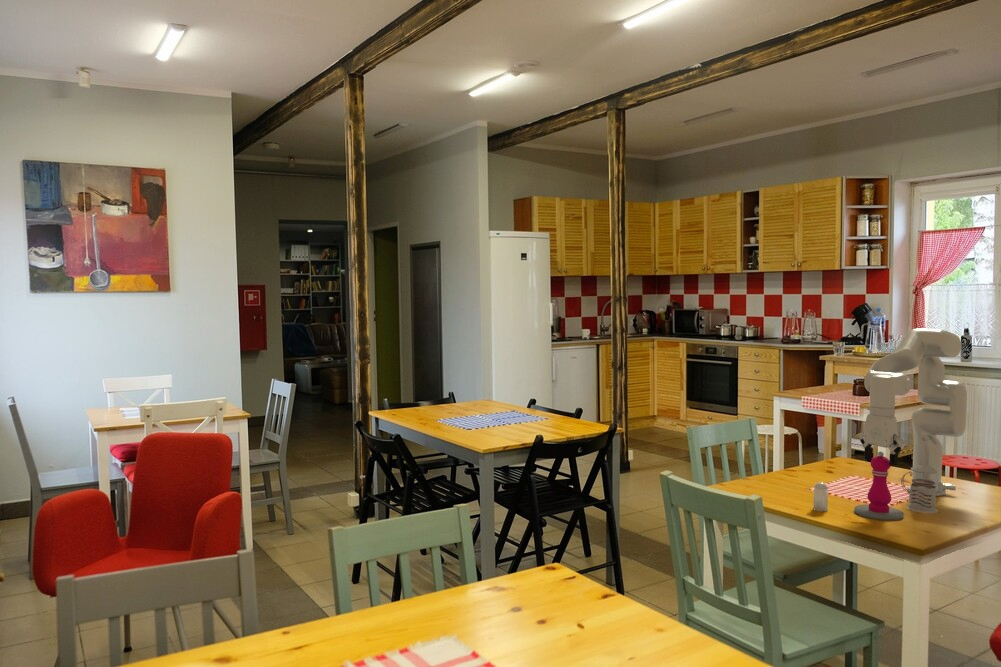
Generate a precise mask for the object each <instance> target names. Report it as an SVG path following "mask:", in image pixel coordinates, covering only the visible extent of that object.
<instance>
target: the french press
mask: <svg viewBox="0 0 1001 667" xmlns="http://www.w3.org/2000/svg"><path fill="white" fill-rule="evenodd" d="M922 441H924V457H925V441H928V439H927V438H925V437H923V438H922ZM913 471H915V472H919V473H923V479H912V478H911V482H913V483H910V485H911V486H910V485H909V486H910V491H908V490H907V487H905V484H904V479H905V477H906V475H907V474H909V476H910V477H913ZM924 473H927V474H934V473H937V471H936V470H935V469H934V468H932V467H930V466H926V465H917V466H914V467H913V466H912V467H910V471H908V472H906V473H904V474H903V475H902V477H901V487H902V489H903V490H904V491H905V492H906V493H908V495H909V498H908V499H909V500H908V503H909V504H908V505H907V506H906V509H908V510H910V511H912V512H916V513H921V514H922V513H923V514H936V513H939V510H938V508H936V501H937V500H936V497H937V496H936V487H935V486H933V485H934V484H935V482H933V481H931V480H930V481H929V480H924ZM920 486H924V487H927V488H928V489H927V488H918V487H920ZM916 491H920V492H916ZM922 494H925V495H922ZM930 495H932V496H930Z"/></svg>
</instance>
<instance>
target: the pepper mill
mask: <svg viewBox="0 0 1001 667" xmlns="http://www.w3.org/2000/svg"><path fill="white" fill-rule="evenodd" d="M884 455H885V453H884V452H883V451H878V452H877V455H875V456H873V458H872V459H870V460H871V461H870V467H871V468H872V470H871V475H872V476H873V477H872V479H873V480H872V484H871V487H870V488H869V490H868V492H867V496H866V498H867V500H868V501H869V502H870V503H868V505H869V510H870V511H873V512H878V513H887V512H889V507H890V506H889V505H888V504H890V503H891V502H892V495H891V492H890V488H889V487H888V483H887V482H888V481H887V479H888V477H889V469H891V466H890V465H889V462H890V458H887V457H886V456H884Z"/></svg>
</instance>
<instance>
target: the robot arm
mask: <svg viewBox="0 0 1001 667" xmlns="http://www.w3.org/2000/svg"><path fill="white" fill-rule="evenodd" d="M961 350H962V340H961V339H960V337H959V336H958V335H957V334H956V333H953V332H951V331H947V330H944V329H940V328H939V329H937V328H913V329H910V330H907V332H906V333H905V335H904V336H903V338H902V340H900V342H899V344H898V346H897V347H896V350H895V351H894V352H891V353H889V354H887V355H884V356H883V357H881V358H879V359H876V360H875V361H874V362H873V363H872V364H871V366H870V367H869V369H868V371H867V372H866V374H865V377H864V380H863V381H864V382H863V384H864V388H865V389H866V391H867V392H869V406H867V410H868V411H869V413H868V414H867V415H866V418H865V423H864V430H863V431H861V432H859V433H858V435H857V436H858V438H859V441H860V443H861V444H862V448H863V449H864V452H863V453H864V455H863V456H864V457H863V458H864V460H865V461H869V460H872V458H873V457H874V455H873V454H874V450H873V448H874V447H872V446H876V447H881V448H888V450H889V452H890V453H889V461H890V462H889V465H890V467H893V466H894V467H895V466H898V465H899V454H900V453H901V452H902V451H903V450H904V448H905V446H906V444H907V443H906V441H905V440H903V439H902V438H901V437H900V436H899V428H898V422H897V417H896V416H895V411H896V409H895V408H896V407H895V404H896V396H899V397H900V396H904V395H907V394H908V393H910V390H911V389H912V379H911V378H910V376H908V375H907V374H904V373H902V372H905V371H909V370H913V369H915V368H916V367H918V378H917V398H918V401H919V402H920V403H921V404H925V405H931V406H940V407H949V410H947V409H941V408H931V407H921V408H917V409H915V410H914V411H913V412H912V414H911V425H912V427H911V428H912V432H913V450H912V451H913V452H912V453H913V456H912V467H914V466H917V465H926V466H930V467H932V468H934V469H935V470H936V471H937V473H934V474H927V473H924V480H929V481H930V480H931V481H933V482H935V484H934V485H933V486H935V487H936V497H939V496H945V495H946V492H947V491H946V490H949V491H956V490H957V489H956V487H957V486H956V484H951V483H944V482H943V480H942V473H943V470H942V469H943V450H944V449H943V443H942V442H941V441H940V439H939V437H938V436H945V437H951V438H952V437H953V438H959V437H961V436H963V435H964V433H965V430H966V425H967V408H968V407H967V406H968V403H967V402H968V391H967V387H966V385H965V384H964V383H962V382H961V381H958V380H957V381H956V380H946V378H945V370H946V367H945V365H944V362H943V361H942V359H941V358H951V359H952V358H956V357H957V356H959V354H960V353H961ZM923 437H925V438H927V439H928V441H925V457H924V441H922V438H923ZM911 477H912V478H911V480H912V479H923V473H919V472H915V471H912V476H911ZM911 482H912V481H911ZM912 483H913V482H912ZM912 483H911V484H912ZM911 484H910V485H908V486H907V487H906V489H907V490H908V491H907V490H906V491H907V492H909V491H910V486H911ZM918 488H927V487H924V486H920V487H918ZM927 489H928V488H927ZM916 492H920V491H916ZM922 495H924V496H926V495H925V494H922ZM930 496H932V495H930Z"/></svg>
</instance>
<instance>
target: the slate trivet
mask: <svg viewBox="0 0 1001 667" xmlns="http://www.w3.org/2000/svg"><path fill="white" fill-rule="evenodd" d="M853 512H854V514H856V515H857V516H859V517H862V516H863V517H862V518H867V519H871V520H875V521H876V520H877V521H889V522H890V521H891V522H892V521H893V522H894V521H901V520H903V519H904V518H905V513H904V512H903V511H902V510H900V509H898V508H895V507H891V506H889V512H887V513H878V512H873V511H870V510H869V504H858V505H855V506H854V507H853Z"/></svg>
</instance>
